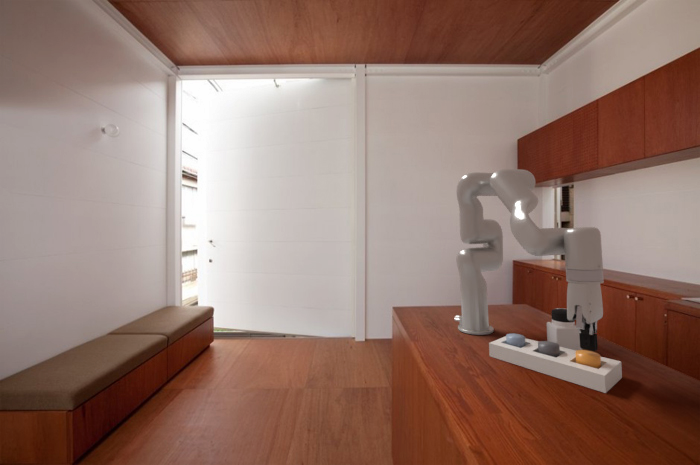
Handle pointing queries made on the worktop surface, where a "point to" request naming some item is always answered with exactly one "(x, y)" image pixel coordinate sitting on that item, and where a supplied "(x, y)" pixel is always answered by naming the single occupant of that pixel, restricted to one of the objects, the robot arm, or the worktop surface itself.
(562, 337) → the medicine bottle
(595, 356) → the orange button
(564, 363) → the frame
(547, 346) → the charcoal button
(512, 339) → the slate button
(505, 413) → the worktop surface
